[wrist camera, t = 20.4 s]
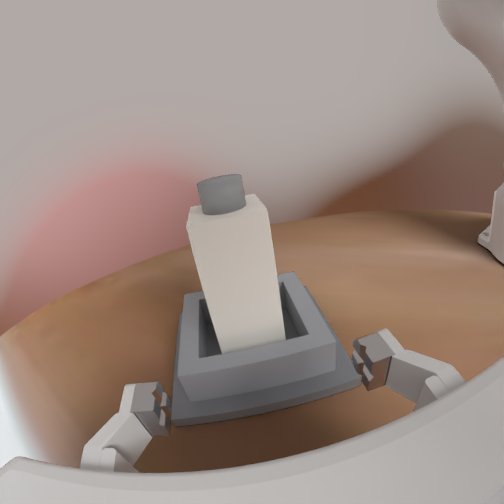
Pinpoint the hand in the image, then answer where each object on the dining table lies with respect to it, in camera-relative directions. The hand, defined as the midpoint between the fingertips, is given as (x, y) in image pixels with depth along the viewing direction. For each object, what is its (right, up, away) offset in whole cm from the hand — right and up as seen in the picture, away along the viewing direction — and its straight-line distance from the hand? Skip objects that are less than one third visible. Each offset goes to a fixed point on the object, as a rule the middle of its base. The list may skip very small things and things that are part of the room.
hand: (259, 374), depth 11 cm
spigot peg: (0, -3, +14) cm, 14 cm away
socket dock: (0, -4, +14) cm, 15 cm away
